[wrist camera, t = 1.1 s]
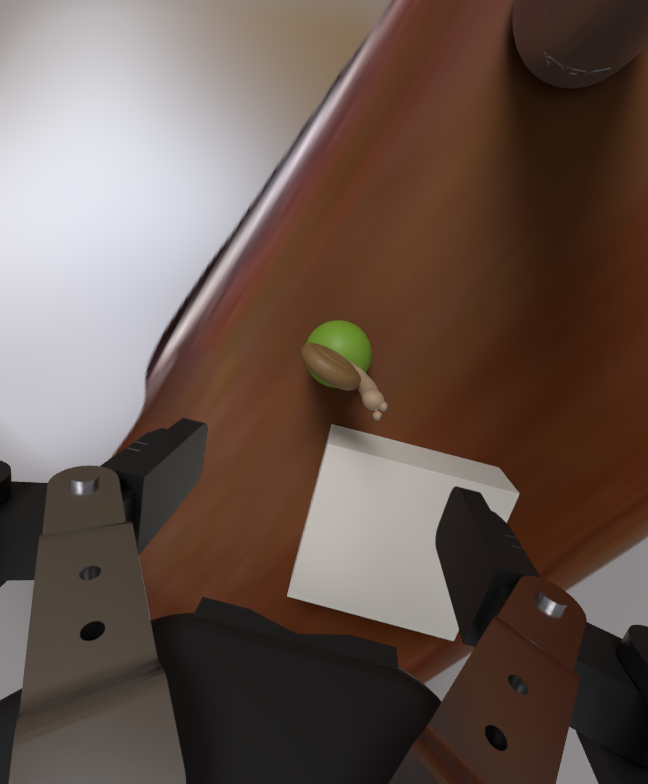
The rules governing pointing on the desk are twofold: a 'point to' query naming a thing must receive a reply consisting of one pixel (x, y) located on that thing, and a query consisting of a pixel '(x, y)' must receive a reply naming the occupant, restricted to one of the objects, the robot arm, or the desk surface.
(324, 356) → the snail figurine
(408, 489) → the cream block
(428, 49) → the desk surface
